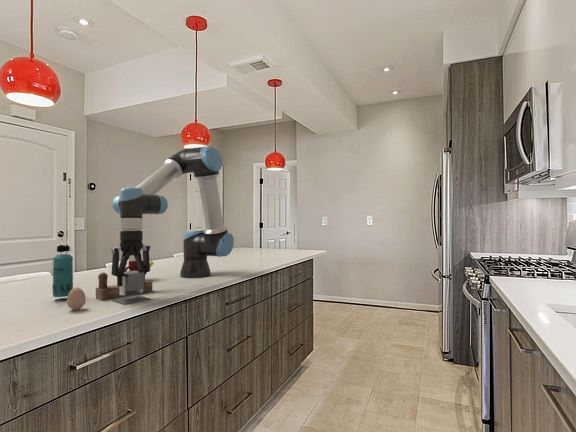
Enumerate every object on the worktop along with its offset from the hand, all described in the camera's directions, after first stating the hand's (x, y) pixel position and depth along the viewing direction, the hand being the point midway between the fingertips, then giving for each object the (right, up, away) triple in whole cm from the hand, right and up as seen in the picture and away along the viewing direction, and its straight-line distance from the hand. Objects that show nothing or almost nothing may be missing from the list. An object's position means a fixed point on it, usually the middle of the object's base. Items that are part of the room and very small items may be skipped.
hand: (131, 293), depth 131 cm
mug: (-14, -3, +37) cm, 40 cm away
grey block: (0, +2, 0) cm, 2 cm away
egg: (-12, -3, -13) cm, 18 cm away
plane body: (-6, -3, +9) cm, 11 cm away
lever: (-4, +2, +12) cm, 13 cm away
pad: (0, -3, 0) cm, 3 cm away
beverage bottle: (-26, -3, +2) cm, 26 cm away
